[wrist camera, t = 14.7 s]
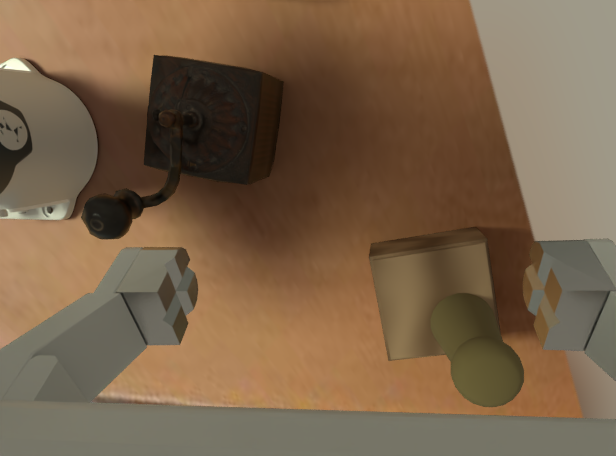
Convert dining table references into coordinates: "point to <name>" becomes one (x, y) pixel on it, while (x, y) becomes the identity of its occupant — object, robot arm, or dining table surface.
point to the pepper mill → (197, 134)
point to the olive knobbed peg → (476, 350)
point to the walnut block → (426, 284)
